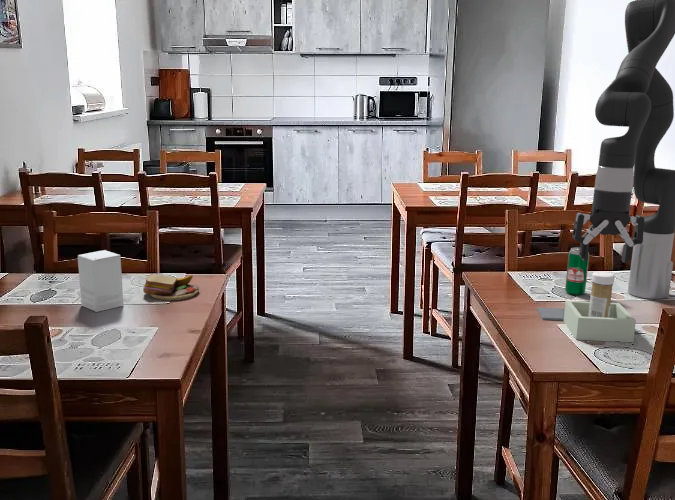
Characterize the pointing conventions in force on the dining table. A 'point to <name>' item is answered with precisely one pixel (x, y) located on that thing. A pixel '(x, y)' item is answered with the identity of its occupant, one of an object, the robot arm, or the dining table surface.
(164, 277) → the toy sandwich meal
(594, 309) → the sprinkles bottle
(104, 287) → the supplement box
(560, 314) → the coaster
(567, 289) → the soda can
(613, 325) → the crate
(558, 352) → the dining table surface
